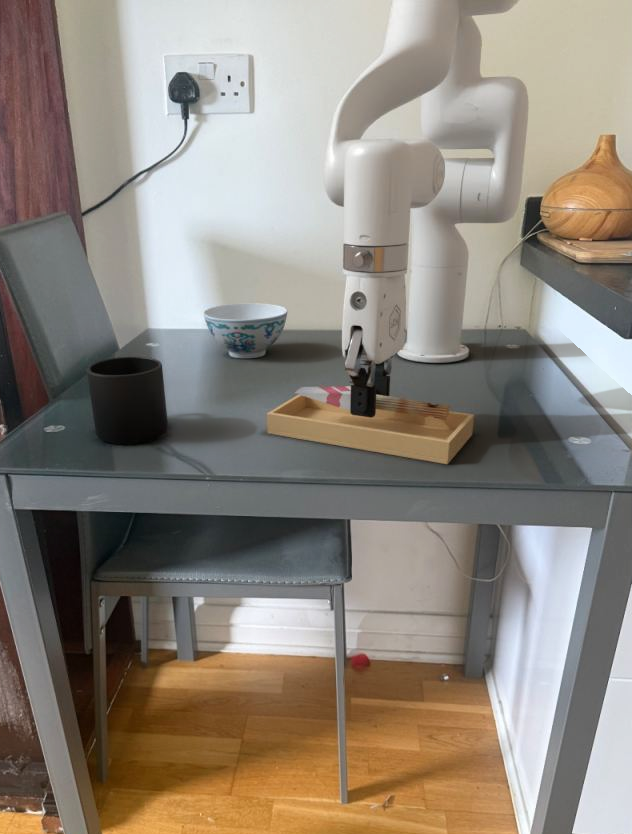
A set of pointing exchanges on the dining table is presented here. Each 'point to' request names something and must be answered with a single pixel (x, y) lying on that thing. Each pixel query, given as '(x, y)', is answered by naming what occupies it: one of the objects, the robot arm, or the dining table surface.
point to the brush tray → (373, 429)
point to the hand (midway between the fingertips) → (369, 408)
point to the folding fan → (342, 399)
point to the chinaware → (246, 327)
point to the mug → (128, 399)
